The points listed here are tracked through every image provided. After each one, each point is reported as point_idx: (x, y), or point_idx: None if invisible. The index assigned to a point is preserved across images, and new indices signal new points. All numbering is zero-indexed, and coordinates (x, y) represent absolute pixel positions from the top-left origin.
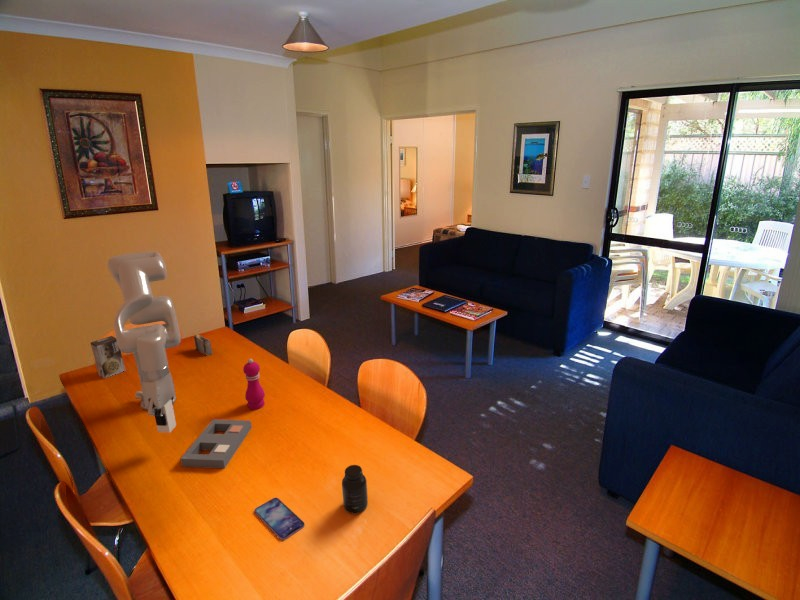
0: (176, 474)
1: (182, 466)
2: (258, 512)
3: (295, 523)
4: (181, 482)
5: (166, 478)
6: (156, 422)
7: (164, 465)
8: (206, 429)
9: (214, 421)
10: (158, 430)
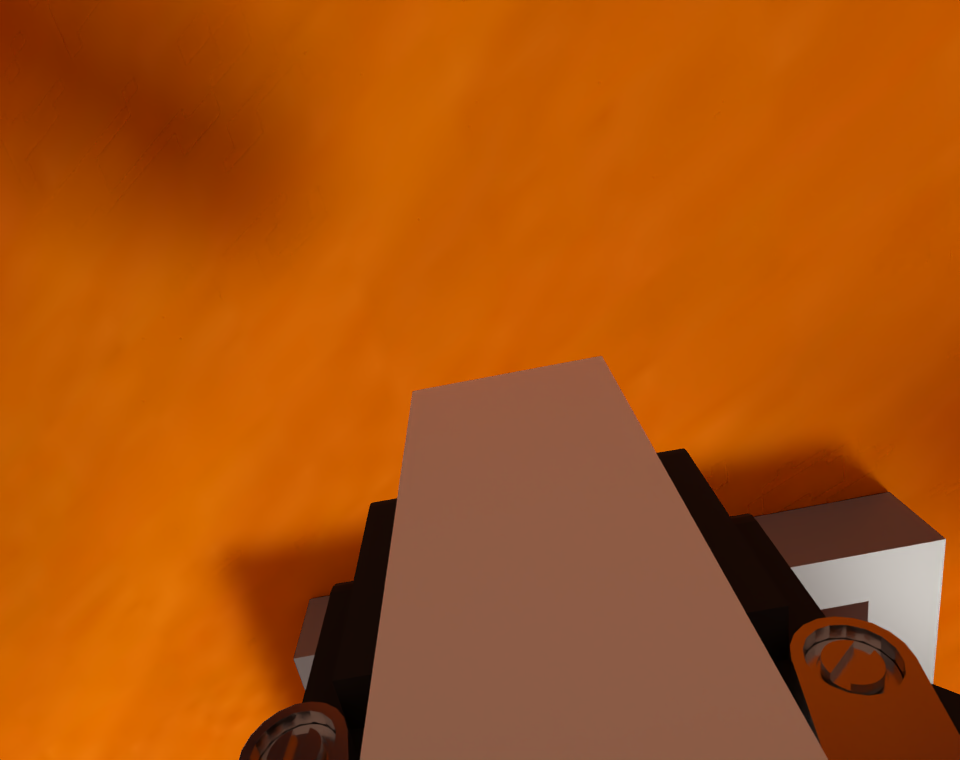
0: (216, 619)
1: (310, 601)
2: None
3: None
4: (162, 702)
5: (146, 583)
6: (367, 538)
7: (268, 458)
8: None
9: (904, 576)
10: (414, 414)
